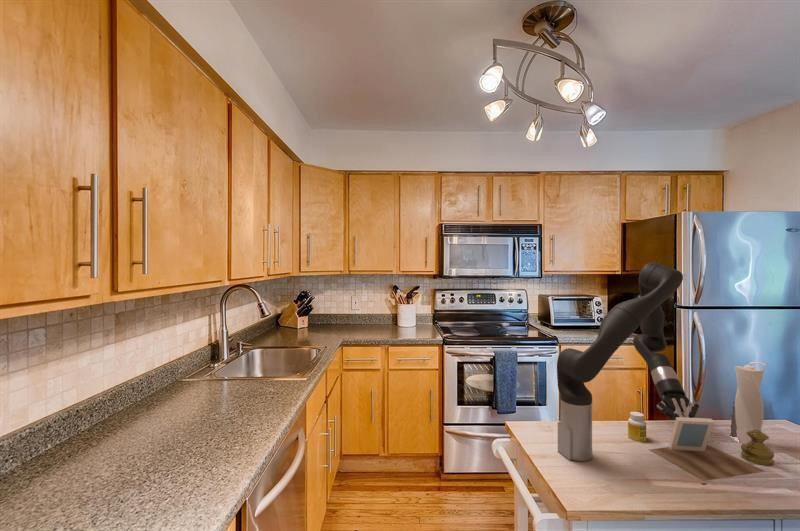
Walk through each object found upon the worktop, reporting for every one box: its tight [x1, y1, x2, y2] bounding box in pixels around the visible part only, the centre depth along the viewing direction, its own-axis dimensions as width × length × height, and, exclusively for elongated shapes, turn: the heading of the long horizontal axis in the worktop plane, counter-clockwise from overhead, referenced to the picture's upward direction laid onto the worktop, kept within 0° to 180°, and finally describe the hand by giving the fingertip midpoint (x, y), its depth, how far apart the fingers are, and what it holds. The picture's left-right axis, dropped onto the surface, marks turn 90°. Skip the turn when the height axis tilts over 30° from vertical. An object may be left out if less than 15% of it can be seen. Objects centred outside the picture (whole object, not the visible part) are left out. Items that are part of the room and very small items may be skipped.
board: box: [648, 443, 765, 486], centre depth 117 cm, size 22×18×1 cm
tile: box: [667, 417, 715, 451], centre depth 121 cm, size 10×2×12 cm, turn 82°
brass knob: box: [740, 430, 775, 467], centre depth 117 cm, size 7×7×10 cm
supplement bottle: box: [627, 411, 647, 443], centre depth 131 cm, size 5×5×10 cm
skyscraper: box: [729, 361, 767, 445], centre depth 130 cm, size 8×8×28 cm
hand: (688, 432), depth 123 cm, fingers closed
